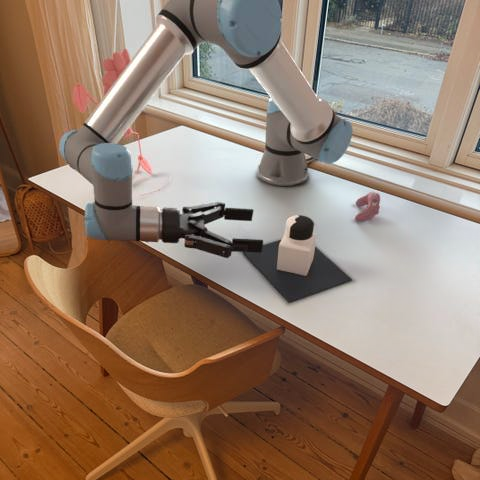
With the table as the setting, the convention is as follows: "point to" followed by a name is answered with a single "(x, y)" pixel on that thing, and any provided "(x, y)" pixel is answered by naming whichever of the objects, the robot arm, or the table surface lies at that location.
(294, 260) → the medicine bottle
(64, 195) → the table surface
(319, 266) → the mat
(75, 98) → the figurine
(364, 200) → the video game controller
